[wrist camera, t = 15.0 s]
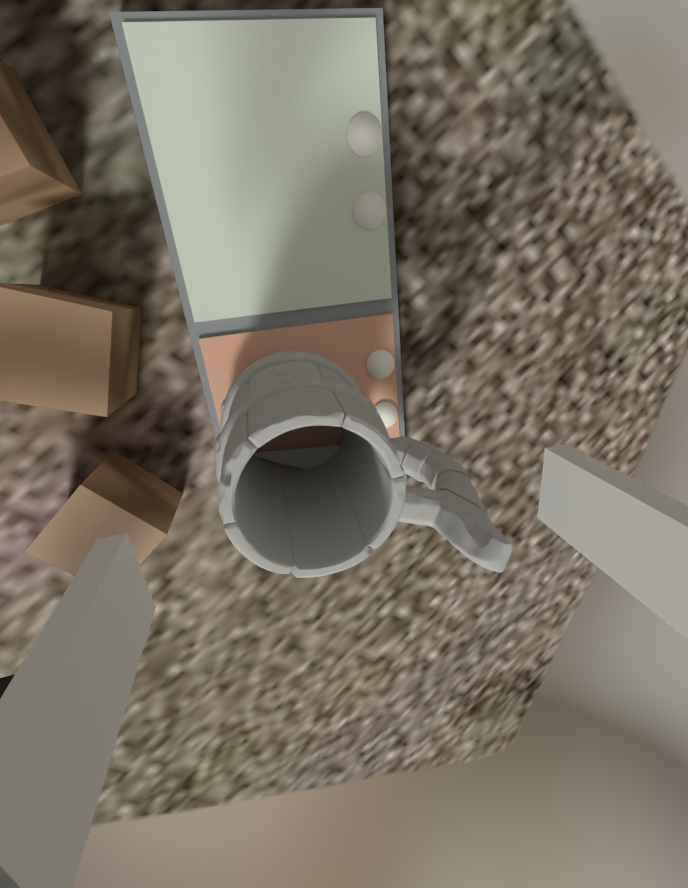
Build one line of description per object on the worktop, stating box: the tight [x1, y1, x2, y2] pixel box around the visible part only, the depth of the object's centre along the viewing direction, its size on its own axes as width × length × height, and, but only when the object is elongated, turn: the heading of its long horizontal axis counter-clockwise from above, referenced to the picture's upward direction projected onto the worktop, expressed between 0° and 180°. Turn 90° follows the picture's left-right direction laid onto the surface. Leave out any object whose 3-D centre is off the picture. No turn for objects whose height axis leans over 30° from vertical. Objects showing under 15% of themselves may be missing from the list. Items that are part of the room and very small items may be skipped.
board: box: [109, 8, 407, 485], centre depth 21 cm, size 24×11×1 cm, turn 6°
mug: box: [215, 351, 512, 578], centre depth 17 cm, size 8×12×12 cm, turn 75°
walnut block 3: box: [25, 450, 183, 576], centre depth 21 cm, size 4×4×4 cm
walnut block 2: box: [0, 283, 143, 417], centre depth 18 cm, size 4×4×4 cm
